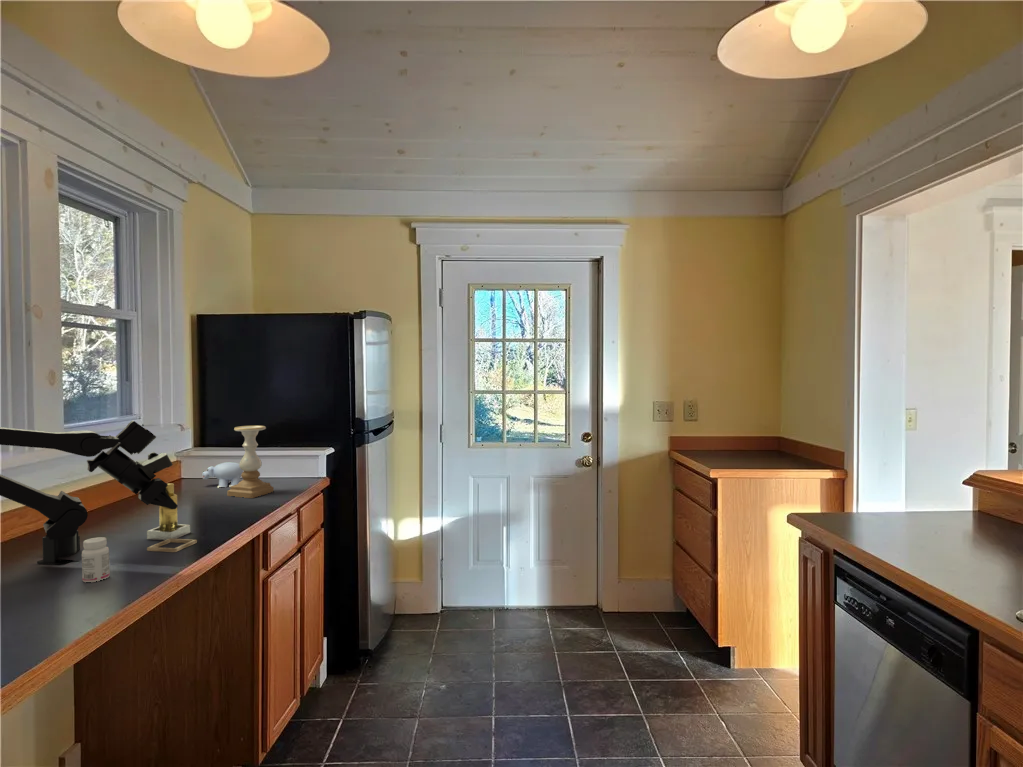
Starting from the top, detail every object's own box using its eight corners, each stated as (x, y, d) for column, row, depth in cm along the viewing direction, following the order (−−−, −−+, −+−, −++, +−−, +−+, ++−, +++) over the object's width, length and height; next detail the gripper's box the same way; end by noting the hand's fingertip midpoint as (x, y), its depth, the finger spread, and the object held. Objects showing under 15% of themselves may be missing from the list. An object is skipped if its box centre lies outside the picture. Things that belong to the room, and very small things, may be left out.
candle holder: (249, 489, 211) (249, 424, 210) (274, 491, 208) (273, 425, 207) (226, 496, 201) (225, 427, 200) (252, 498, 197) (251, 429, 196)
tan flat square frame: (175, 558, 136) (175, 549, 136) (146, 556, 137) (146, 547, 137) (197, 548, 143) (197, 539, 143) (170, 547, 144) (169, 538, 144)
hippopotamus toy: (203, 484, 221) (203, 459, 221) (246, 481, 227) (246, 457, 227) (200, 489, 211) (200, 464, 211) (245, 486, 217) (245, 461, 217)
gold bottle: (169, 533, 147) (169, 486, 146) (155, 532, 147) (155, 485, 147) (181, 528, 150) (180, 483, 150) (167, 528, 151) (166, 482, 151)
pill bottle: (105, 573, 126) (104, 535, 126) (112, 578, 123) (112, 539, 123) (79, 579, 122) (78, 540, 122) (85, 584, 119) (85, 544, 119)
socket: (171, 546, 145) (171, 532, 145) (146, 544, 146) (146, 531, 146) (190, 537, 152) (190, 524, 152) (166, 536, 153) (166, 523, 153)
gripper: (157, 447, 139) (207, 487, 146) (143, 440, 153) (190, 476, 160) (118, 484, 134) (172, 523, 141) (107, 473, 148) (157, 509, 155)
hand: (174, 506), depth 150 cm, fingers closed on gold bottle, 4 cm apart
